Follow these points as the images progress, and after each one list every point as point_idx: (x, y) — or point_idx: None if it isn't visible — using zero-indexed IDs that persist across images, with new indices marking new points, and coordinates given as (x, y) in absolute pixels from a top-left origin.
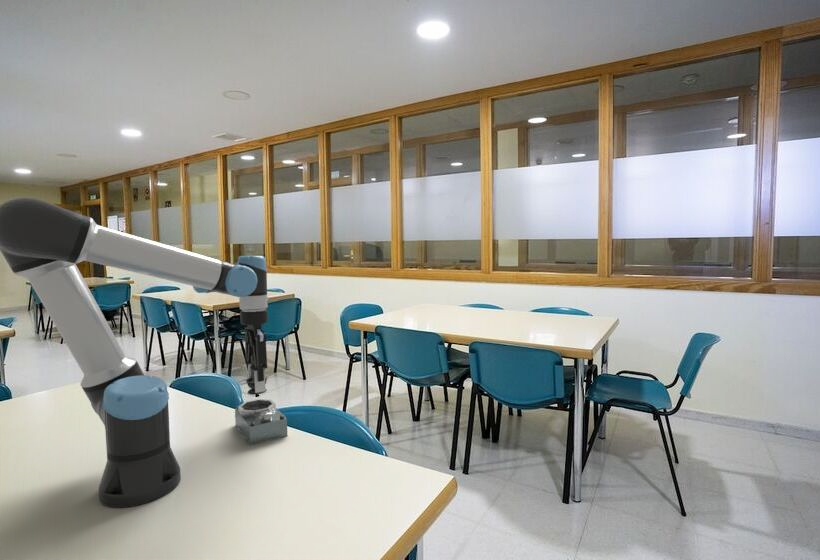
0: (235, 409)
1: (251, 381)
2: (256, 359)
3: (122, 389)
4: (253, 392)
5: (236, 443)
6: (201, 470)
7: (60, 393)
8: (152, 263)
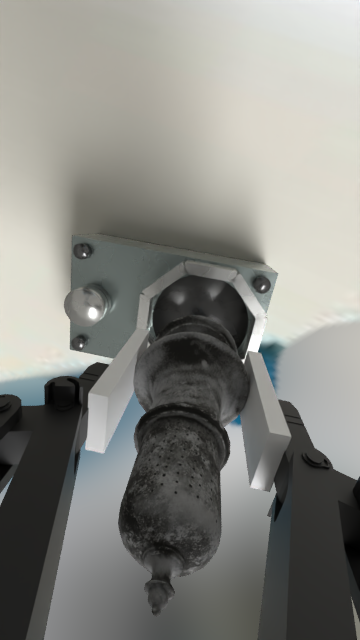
0: (270, 272)
1: (164, 348)
2: (15, 474)
3: None
4: (172, 331)
5: (135, 208)
6: (28, 50)
7: None
8: None
